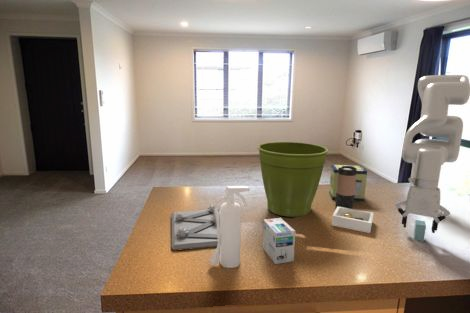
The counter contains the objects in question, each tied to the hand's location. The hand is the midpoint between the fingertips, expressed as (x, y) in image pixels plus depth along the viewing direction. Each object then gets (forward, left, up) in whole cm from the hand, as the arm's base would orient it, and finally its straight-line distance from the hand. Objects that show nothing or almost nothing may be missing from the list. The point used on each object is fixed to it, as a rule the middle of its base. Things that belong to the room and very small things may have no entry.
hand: (418, 228), depth 111 cm
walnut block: (+2, -20, -3) cm, 20 cm away
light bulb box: (+35, -41, -4) cm, 54 cm away
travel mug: (-14, -28, -4) cm, 32 cm away
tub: (0, -22, -4) cm, 23 cm away
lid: (0, -6, -4) cm, 8 cm away
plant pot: (-4, -50, -4) cm, 50 cm away
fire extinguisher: (+47, -53, -4) cm, 71 cm away
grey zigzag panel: (+32, -74, -5) cm, 81 cm away
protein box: (-34, -30, -4) cm, 46 cm away
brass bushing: (-1, -24, -3) cm, 25 cm away
